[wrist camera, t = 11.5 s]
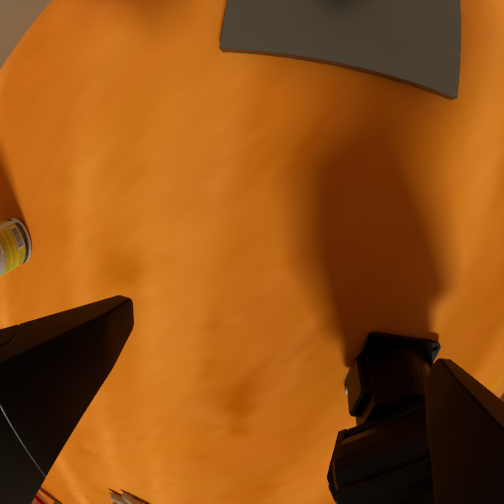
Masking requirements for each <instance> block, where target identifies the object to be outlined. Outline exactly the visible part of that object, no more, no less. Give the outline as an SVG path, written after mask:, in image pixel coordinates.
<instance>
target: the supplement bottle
mask: <svg viewBox="0 0 504 504" xmlns="http://www.w3.org/2000/svg"><path fill="white" fill-rule="evenodd" d="M30 255H31V240H30V236H29V233H28V231H27V229H26V227H25V226H24V224H23V223H22V222H21V221H20V220H18V219H16V218H9V219H7V220H4V221H2V222H0V277H1V276H3V275H5V274H6V273H8V272H10V271H11V270H13V269H15V268H16V267H18V266H20V265H21V264H23V263H25V262H26V261H27V260H28V259H29V257H30Z"/></svg>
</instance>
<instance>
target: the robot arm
mask: <svg viewBox="0 0 504 504" xmlns="http://www.w3.org/2000/svg"><path fill="white" fill-rule="evenodd" d="M133 326H134V315H133V302H132V300H131V299H130V298H128V297H124V296H121V295H117V296H114V297H111V298H107V299H104V300H100V301H97V302H94V303H90V304H87V305H83V306H80V307H76V308H73V309H70V310H66V311H63V312H59V313H56V314H52V315H49V316H45V317H42V318H39V319H35V320H32V321H28V322H25V323H21V324H19V325H14V326H11V327H7V328H3V329H0V504H31V503H32V501H33V499H34V498H35V496H36V494H37V492H38V490H39V489H40V487H41V485H42V483H43V482H44V480H45V477H46V476H47V474H48V472H49V471H50V469H51V467H52V465H53V464H54V462H55V460H56V459H57V457H58V455H59V454H60V452H61V450H62V448H63V447H64V445H65V443H66V442H67V440H68V439H69V437H70V435H71V434H72V432H73V430H74V429H75V427H76V425H77V424H78V422H79V421H80V419H81V417H82V416H83V414H84V413H85V411H86V409H87V408H88V406H89V405H90V403H91V401H92V400H93V398H94V397H95V395H96V394H97V392H98V390H99V389H100V387H101V386H102V384H103V383H104V381H105V380H106V378H107V377H108V375H109V373H110V372H111V370H112V369H113V367H114V365H115V363H116V361H117V359H118V357H119V355H120V353H121V351H122V349H123V347H124V345H125V343H126V341H127V339H128V337H129V335H130V333H131V331H132V329H133ZM372 338H376V339H375V340H371V339H372ZM434 346H436V347H435V348H433V347H434ZM440 348H441V346H440V344H439V342H438V341H435V340H427V339H419V338H412V337H405V336H398V335H391V334H384V333H377V332H372V333H370V334H369V335H368V336H367V338H366V341H365V343H364V346H363V348H362V351H361V353H360V355H358V356H356V357H355V360H354V362H353V364H352V367H351V369H350V372H349V374H348V376H347V379H346V383H347V385H346V388H345V394H346V395H347V396H348V405H349V414H350V415H351V416H354V417H356V424H357V426H355V427H353V428H350V429H348V430H347V429H344V430H341V431H339V432H338V435H337V439H336V443H335V447H334V451H333V455H332V458H331V462H330V466H329V471H328V474H327V480H328V482H329V486H328V487H329V490H330V492H331V494H332V496H333V498H334V501H335V502H336V504H504V402H503V401H501V399H499V398H498V397H497V396H496V395H494V394H493V393H492V392H491V391H489V390H488V389H487V388H486V387H485V386H483V385H482V384H481V383H480V382H478V381H477V380H476V379H475V378H473V377H472V376H471V375H470V374H468V373H467V372H466V371H464V370H463V369H462V368H461V367H459V366H458V365H457V364H456V363H454V362H453V361H452V360H450V359H443V358H439V359H437V360H436V362H435V363H433V362H434V360H435V358H436V356H437V354H438V352H439V350H440Z"/></svg>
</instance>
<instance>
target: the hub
mask: <svg viewBox="0 0 504 504" xmlns="http://www.w3.org/2000/svg"><path fill="white" fill-rule="evenodd" d="M219 48H220V49H221V50H222V51H223V52H234V53H248V54H259V55H269V56H277V57H285V58H292V59H299V60H306V61H312V62H317V63H323V64H328V65H333V66H338V67H343V68H348V69H352V70H356V71H361V72H365V73H369V74H373V75H376V76H380V77H384V78H387V79H391V80H394V81H398V82H401V83H404V84H408V85H411V86H414V87H417V88H420V89H423V90H426V91H429V92H431V93H434V94H437V95H440V96H442V97H445V98H448V99H450V100H452V99H456V98H457V95H458V84H459V71H460V50H461V11H460V0H228V3H227V8H226V13H225V18H224V23H223V28H222V34H221V39H220V45H219Z"/></svg>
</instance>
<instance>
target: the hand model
mask: <svg viewBox="0 0 504 504" xmlns="http://www.w3.org/2000/svg"><path fill="white" fill-rule="evenodd" d="M121 496H122V497H121ZM121 496H120V495H118V494H116V493H114V494H112V495H111V496H110V498H111V499H112V500H113V501H114V502H113V504H142V503H140V502H139V501H138V500H136V499H135V498H134V497H133V496H132V495H130V494H128V493H126V492H124V493H123V494H122V495H121Z"/></svg>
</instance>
